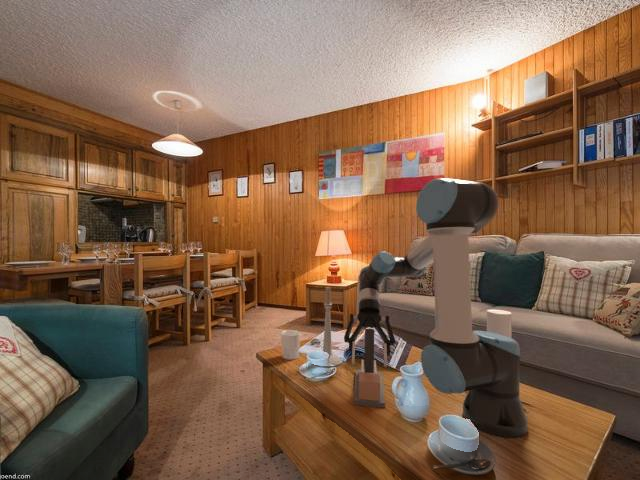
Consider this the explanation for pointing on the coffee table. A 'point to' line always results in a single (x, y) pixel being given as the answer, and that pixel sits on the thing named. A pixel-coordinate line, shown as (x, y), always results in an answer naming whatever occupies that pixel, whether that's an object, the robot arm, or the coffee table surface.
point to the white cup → (290, 344)
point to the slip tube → (369, 351)
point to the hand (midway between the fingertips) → (369, 363)
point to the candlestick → (329, 331)
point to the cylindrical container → (499, 322)
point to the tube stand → (369, 388)
